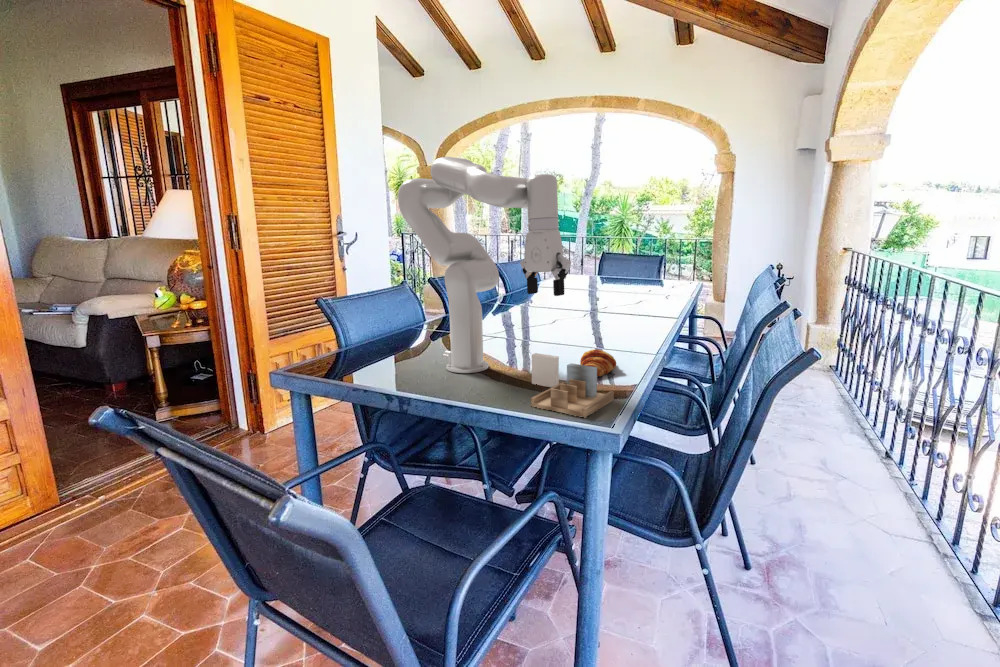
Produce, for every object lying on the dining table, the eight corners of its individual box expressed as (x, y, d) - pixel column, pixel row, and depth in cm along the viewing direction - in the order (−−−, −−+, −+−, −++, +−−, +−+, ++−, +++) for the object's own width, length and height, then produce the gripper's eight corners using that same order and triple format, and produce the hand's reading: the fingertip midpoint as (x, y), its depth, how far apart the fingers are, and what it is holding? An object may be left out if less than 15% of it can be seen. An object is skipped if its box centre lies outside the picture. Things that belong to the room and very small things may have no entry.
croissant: (597, 372, 162) (585, 348, 162) (626, 359, 157) (614, 335, 158) (578, 390, 143) (565, 364, 143) (611, 377, 138) (597, 349, 139)
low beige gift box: (531, 383, 139) (531, 354, 138) (535, 381, 141) (535, 353, 139) (554, 388, 135) (554, 358, 134) (558, 386, 137) (558, 356, 135)
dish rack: (530, 406, 122) (530, 373, 120) (562, 389, 134) (562, 359, 132) (585, 418, 114) (585, 383, 112) (613, 399, 125) (614, 367, 124)
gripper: (509, 228, 135) (512, 294, 138) (557, 224, 122) (559, 297, 125) (531, 227, 140) (533, 291, 143) (579, 224, 126) (580, 294, 130)
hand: (545, 294), depth 134 cm, fingers open, 9 cm apart
